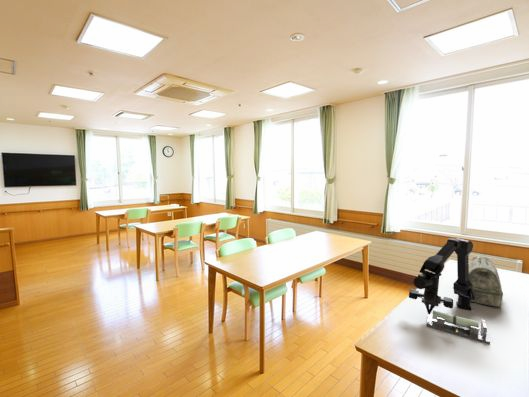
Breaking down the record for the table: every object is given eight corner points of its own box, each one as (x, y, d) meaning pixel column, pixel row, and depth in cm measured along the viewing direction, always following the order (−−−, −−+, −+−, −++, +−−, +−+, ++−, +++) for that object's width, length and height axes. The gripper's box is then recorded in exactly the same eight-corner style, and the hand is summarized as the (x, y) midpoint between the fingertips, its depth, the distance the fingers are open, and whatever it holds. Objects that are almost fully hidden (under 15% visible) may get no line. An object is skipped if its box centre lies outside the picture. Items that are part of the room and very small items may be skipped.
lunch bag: (462, 284, 179) (465, 252, 176) (498, 292, 168) (502, 258, 165) (460, 300, 158) (464, 264, 155) (502, 310, 147) (506, 272, 144)
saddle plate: (428, 314, 143) (428, 304, 142) (486, 330, 129) (487, 318, 129) (426, 326, 133) (427, 314, 132) (489, 344, 120) (491, 331, 119)
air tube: (432, 316, 138) (433, 308, 137) (477, 327, 128) (477, 319, 128) (432, 320, 135) (432, 312, 134) (477, 332, 125) (478, 324, 124)
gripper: (408, 285, 134) (406, 315, 136) (454, 296, 123) (451, 328, 125) (411, 278, 143) (408, 306, 145) (454, 287, 132) (451, 317, 134)
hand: (428, 314), depth 137 cm, fingers closed
